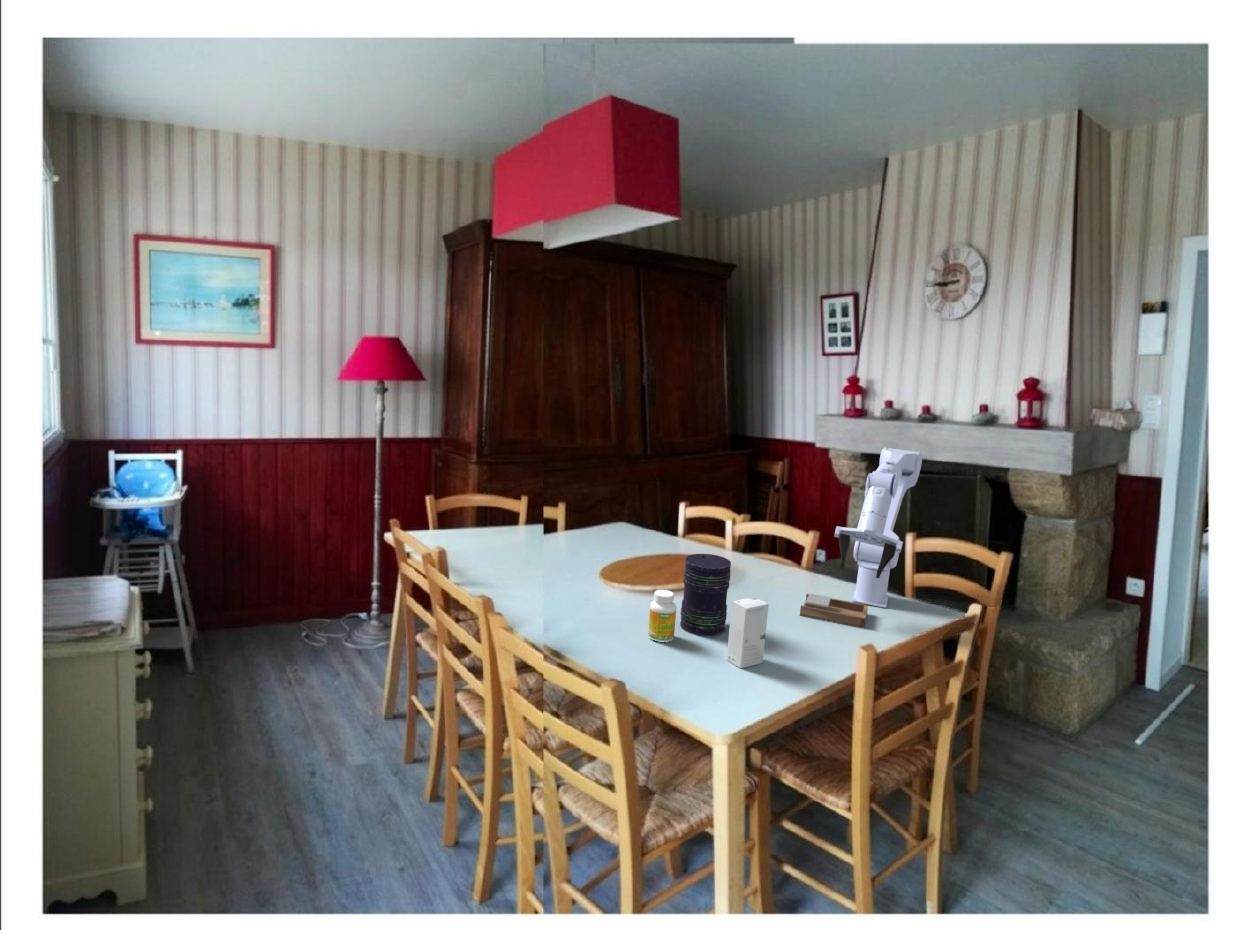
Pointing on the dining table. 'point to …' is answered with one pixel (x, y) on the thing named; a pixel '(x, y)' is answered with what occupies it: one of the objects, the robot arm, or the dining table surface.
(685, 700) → the dining table surface
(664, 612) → the supplement bottle
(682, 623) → the dark blue cylinder
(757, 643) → the skincare box
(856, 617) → the wooden box
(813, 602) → the cover plate
